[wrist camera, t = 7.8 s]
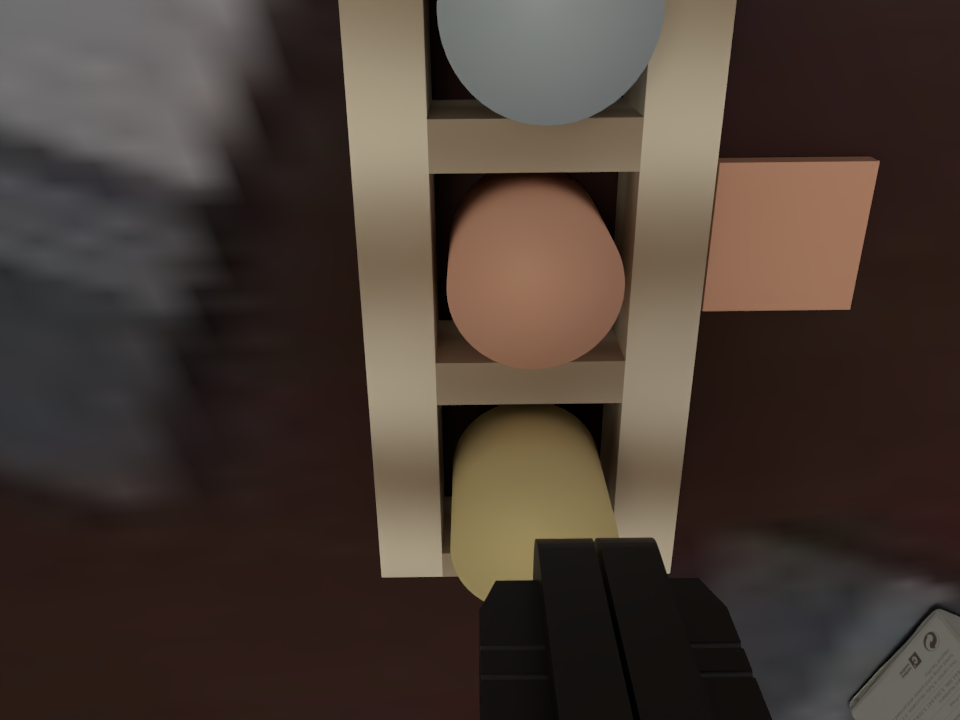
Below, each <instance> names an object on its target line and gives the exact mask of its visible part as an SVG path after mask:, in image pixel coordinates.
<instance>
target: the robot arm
mask: <svg viewBox="0 0 960 720" xmlns="http://www.w3.org/2000/svg"><path fill="white" fill-rule="evenodd" d="M479 624H480V720H772V718H771V715H770V713H769V711H768V708H767V706H766V703H765V701H764V698H763V696H762V693H761V691H760V688H759V686H758V683H757V681H756V678H753V676H752V668H751V666H750V663H749V661H748V658H747V656H746V654H745V651H744V649H743V648H741V641H740V639H739V636H738V634H737V631H736V629H735V626H734V624H733V621H732V619H731V616H730V614H729V611H728V609H727V607H726V606H725V605H724V604H723V603H722V602H721V601H720V600H719V599H718V598H717V597H716V596H715V595H714V594H713V593H712V592H711V591H710V590H709V589H708V587H707V586H706V585H705V584H704V583H703V582H702V581H701V580H700V579H699V578H668V575H667V572H666V569H665V566H664V563H663V560H662V557H661V554H660V551H659V548H658V545H657V542H656V541H655V539H654V538H652V537H641V538H596V539H595V541H593V539H592V538H565V539H535V543H534V560H533V580H503V581H495V583H494V585H493V586H492V588H491V590H490V592H489V594H488V596H487V597H486V599H485V601H484V603H483V605H482V607H481V608H480V610H479Z"/></svg>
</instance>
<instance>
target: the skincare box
mask: <svg viewBox="0 0 960 720" xmlns="http://www.w3.org/2000/svg"><path fill="white" fill-rule="evenodd" d="M850 709H851V714H852V716H853V718H854V720H960V617H959V616H956V615H954V614H952V613H949V612H947V611H944V610H942V609H936V610H934V611H933V612H932V613H931V614H930V615H929V616H928V617H927V618H926V619H925V620H924V621H923V622H922V623H921V625H920V626H919V627H918V628H917V630H916V631H915V632H914V634H913V635H912V636H911V637H910V638H909V639H908V641H907V642H906V643H905V644H904V645H903V646H902V647H901V648H900V649H899V650H898V651H897V652H896V653H895V654H894V655H893V656H892V657H891V658H890V659H889V660H888V661H887V662H886V663H885V664H884V665H883V666H882V667H881V668H880V669H879V670H878V671H877V672H876V673H875V674H874V675H873V677H872V678H871V679H870V680H869V681H868V682H867V683H866V685H865V686H864V687H863V688H862V689H861V690H860V691H859V692H858V693H857V694H856V695H855V696H854V697H853V699H852V700H851V702H850Z"/></svg>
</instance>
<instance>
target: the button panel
mask: <svg viewBox="0 0 960 720" xmlns="http://www.w3.org/2000/svg"><path fill="white" fill-rule="evenodd" d="M338 1H339V14H340V27H341V41H342V54H343V68H344V81H345V94H346V108H347V121H348V134H349V148H350V161H351V174H352V188H353V201H354V214H355V228H356V241H357V254H358V268H359V281H360V294H361V308H362V321H363V334H364V348H365V361H366V375H367V388H368V401H369V415H370V428H371V441H372V455H373V468H374V481H375V495H376V508H377V521H378V535H379V548H380V561H381V575H382V577H451V576H458V575H457V573H456V571H455V569H454V567H453V563H452V560H451V552H450V543H451V512H452V496H450V497H444V465H443V433H442V405H492V404H573V403H603V418H602V434H601V449H600V463H601V467H602V471H603V475H604V479H605V482H606V486H607V490H608V494H609V498H610V502H611V506H612V509H613V513H614V517H615V521H616V525H617V529H618V534H619V538H641V537H652V538H654V539H655V541H656V542H657V545H658V548H659V551H660V554H661V557H662V560H663V563H664V566H665V569H666V572H667V574H669V573H670V569H671V561H672V552H673V544H674V535H675V526H676V518H677V509H678V501H679V492H680V483H681V475H682V466H683V458H684V449H685V440H686V432H687V423H688V415H689V406H690V397H691V389H692V380H693V371H694V363H695V354H696V346H697V337H698V328H699V320H700V311H701V303H702V294H703V285H704V277H705V268H706V260H707V251H708V242H709V234H710V225H711V216H712V208H713V199H714V191H715V182H716V173H717V165H718V156H719V148H720V139H721V130H722V122H723V113H724V105H725V96H726V87H727V79H728V70H729V61H730V53H731V44H732V36H733V27H734V18H735V10H736V1H737V0H665V11H664V18H663V25H662V29H661V32H660V36H659V40H658V42H657V45H656V47H655V50H654V52H653V55H652V57H651V58H650V60H649V62H648V64H647V66H646V68H645V69H644V71H643V72H642V74H641V75H640V76H639V78H638V79H637V81H636V82H635V83H634V84H633V85H632V86H631V87H630V88H629V90H628V91H627V92H626V93H625V94H624V95H623V98H619V99H618V100H617V101H615V102H614V103H613V104H611V105H610V106H608V107H607V108H605V109H604V110H602V111H600V112H598V113H596V114H594V115H592V116H590V117H588V118H585V119H582V120H580V121H577V122H573V123H568V124H563V125H552V126H541V125H531V124H526V123H521V122H517V121H514V120H511V119H509V118H506V117H504V116H502V115H500V114H498V113H496V112H494V111H492V110H491V109H489V108H488V107H486V106H485V105H484V104H482V103H481V102H480V101H479V100H478V99H473V100H432V85H431V53H430V21H429V0H338ZM543 172H618V187H617V202H616V218H615V233H614V243H615V245H616V247H617V250H618V252H619V254H620V257H621V260H622V264H623V267H624V275H625V291H624V298H623V302H622V306H621V309H620V312H619V314H618V316H617V319H616V321H615V322H614V324H613V326H612V327H611V329H610V330H609V332H608V333H607V334H606V336H605V337H604V338H603V339H602V340H601V341H600V342H599V343H598V344H597V345H596V346H595V347H594V348H592V349H591V350H590V351H588V352H587V353H586V354H584V355H582V356H581V357H579V358H577V359H575V360H573V361H571V362H568V363H566V364H563V365H559V366H556V367H551V368H546V369H521V368H515V367H510V366H507V365H503V364H500V363H498V362H496V361H493V360H491V359H489V358H488V357H486V356H484V355H483V354H481V353H480V352H479V351H477V350H476V349H475V348H473V347H472V346H471V345H470V344H469V343H468V342H467V341H466V339H465V338H464V337H463V335H462V334H461V333H460V332H459V330H458V328H457V326H456V325H455V323H454V321H453V320H439V306H438V275H437V243H436V211H435V180H434V174H446V173H543Z"/></svg>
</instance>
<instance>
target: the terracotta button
mask: <svg viewBox="0 0 960 720" xmlns="http://www.w3.org/2000/svg"><path fill="white" fill-rule="evenodd" d="M624 291H625V275H624V267H623V264H622V260H621V257H620V254H619V252H618V250H617V247H616V245H615V243H614V241H613V239H612V237H611V235H610V233H609V231H608V229H607V227H606V225H605V223H604V221H603V219H602V218H601V216H600V214H599V212H598V210H597V208H596V206H595V204H594V202H593V200H592V198H591V197H590V195H589V194H588V192H587V191H586V190H585V189H584V188H583V187H582V186H581V185H580V184H579V183H578V182H577V181H576V180H575V179H573V178H572V177H570V176H569V175H567V174H566V173H564V172H543V173H490V174H488V175H486V176H485V177H483V178H482V179H480V180H479V181H478V182H477V183H476V184H474V185H473V186H472V187H471V188H470V189H469V191H468V192H467V193H466V194H465V195H464V197H463V198H462V200H461V201H460V203H459V205H458V207H457V209H456V211H455V214H454V217H453V220H452V224H451V230H450V243H449V257H448V272H447V301H448V305H449V309H450V313H451V315H452V318H453V321H454V323H455V325H456V326H457V328H458V330H459V332H460V333H461V334H462V335H463V337H464V338H465V339H466V341H467V342H468V343H469V344H470V345H471V346H472V347H473V348H475V349H476V350H477V351H479V352H480V353H481V354H483V355H484V356H486V357H488V358H489V359H491V360H493V361H496V362H498V363H500V364H503V365H507V366H510V367H515V368H521V369H546V368H551V367H556V366H559V365H563V364H566V363H568V362H571V361H573V360H575V359H577V358H579V357H581V356H582V355H584V354H586V353H587V352H588V351H590V350H591V349H592V348H594V347H595V346H596V345H597V344H598V343H599V342H600V341H601V340H602V339H603V338H604V337H605V336H606V334H607V333H608V332H609V330H610V329H611V327H612V326H613V324H614V322H615V321H616V319H617V316H618V314H619V312H620V309H621V306H622V302H623V298H624Z"/></svg>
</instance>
